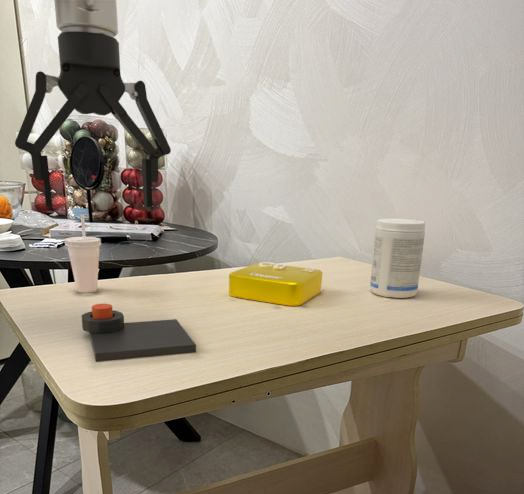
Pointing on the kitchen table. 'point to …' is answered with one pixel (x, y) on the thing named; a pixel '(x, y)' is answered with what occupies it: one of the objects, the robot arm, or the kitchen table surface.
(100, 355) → the scale
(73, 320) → the kitchen table surface
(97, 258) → the smoothie
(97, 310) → the scale button
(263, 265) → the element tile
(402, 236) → the supplement tub
